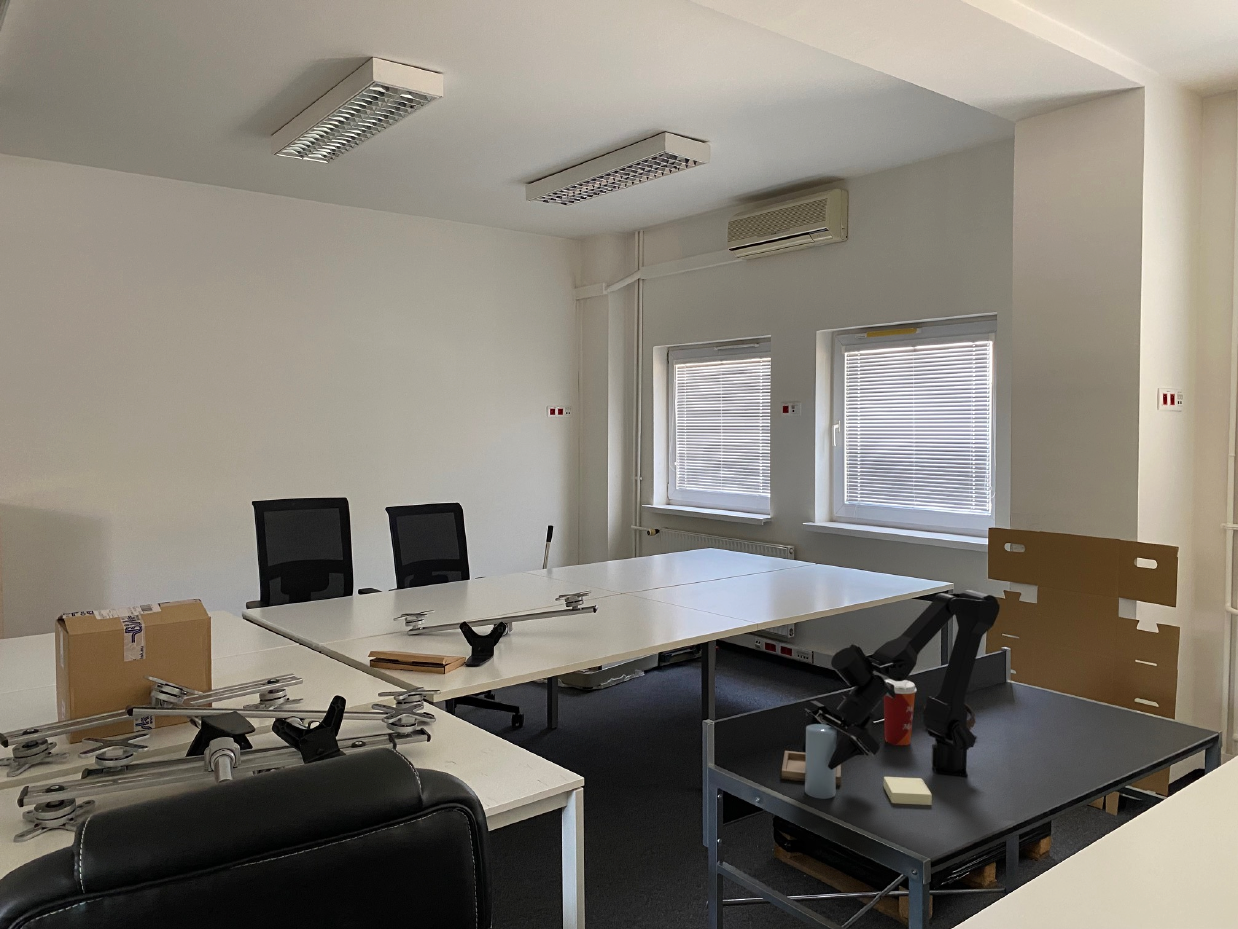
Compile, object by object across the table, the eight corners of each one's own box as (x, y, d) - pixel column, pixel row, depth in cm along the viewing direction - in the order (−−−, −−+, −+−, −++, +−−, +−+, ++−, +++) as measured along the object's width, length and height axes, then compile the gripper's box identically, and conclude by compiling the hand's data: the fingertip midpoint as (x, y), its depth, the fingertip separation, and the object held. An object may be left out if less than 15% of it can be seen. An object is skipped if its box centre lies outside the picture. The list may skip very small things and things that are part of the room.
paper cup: (916, 749, 198) (918, 689, 197) (882, 746, 199) (884, 686, 198) (912, 736, 205) (914, 679, 205) (879, 734, 207) (880, 676, 206)
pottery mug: (972, 727, 214) (981, 704, 209) (965, 754, 207) (974, 732, 202) (923, 707, 219) (931, 685, 214) (915, 734, 212) (923, 712, 207)
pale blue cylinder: (835, 788, 176) (836, 725, 176) (835, 800, 171) (836, 735, 170) (805, 784, 178) (806, 723, 177) (804, 796, 172) (805, 733, 171)
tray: (840, 764, 188) (840, 756, 188) (840, 785, 178) (840, 777, 177) (784, 758, 191) (785, 750, 191) (781, 778, 181) (781, 770, 180)
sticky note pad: (921, 790, 177) (921, 778, 177) (931, 807, 169) (931, 794, 169) (883, 788, 177) (883, 776, 177) (891, 805, 170) (892, 792, 170)
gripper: (915, 739, 171) (867, 802, 167) (856, 709, 188) (812, 765, 184) (884, 705, 167) (834, 768, 164) (827, 677, 185) (781, 734, 181)
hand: (815, 759), depth 173 cm, fingers open, 9 cm apart
